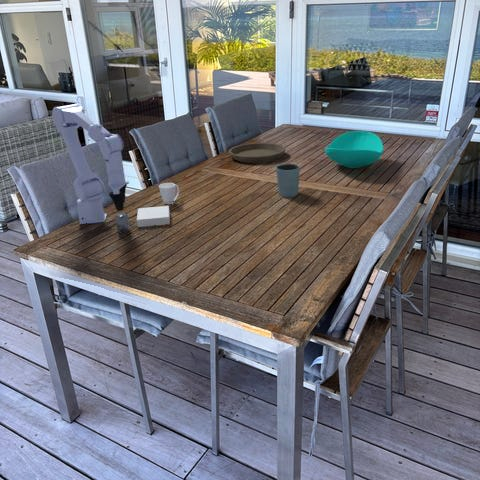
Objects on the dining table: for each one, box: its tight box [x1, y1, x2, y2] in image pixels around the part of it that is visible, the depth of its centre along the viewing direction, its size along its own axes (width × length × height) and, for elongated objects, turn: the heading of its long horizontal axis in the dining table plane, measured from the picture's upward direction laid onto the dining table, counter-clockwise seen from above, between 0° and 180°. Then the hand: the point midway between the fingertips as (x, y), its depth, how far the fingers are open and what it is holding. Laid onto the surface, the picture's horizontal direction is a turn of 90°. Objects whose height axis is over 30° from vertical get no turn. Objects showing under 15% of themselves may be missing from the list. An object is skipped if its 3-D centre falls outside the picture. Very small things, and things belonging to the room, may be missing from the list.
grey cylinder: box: [114, 213, 131, 234], centre depth 176 cm, size 4×4×6 cm
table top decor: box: [324, 130, 384, 169], centre depth 236 cm, size 40×28×13 cm
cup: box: [158, 182, 180, 205], centre depth 201 cm, size 7×10×8 cm
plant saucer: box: [228, 142, 286, 164], centre depth 262 cm, size 31×31×5 cm
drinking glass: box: [275, 163, 301, 198], centre depth 204 cm, size 10×10×12 cm
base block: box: [136, 205, 171, 228], centre depth 185 cm, size 12×12×3 cm
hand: (121, 206), depth 173 cm, fingers open, 7 cm apart
